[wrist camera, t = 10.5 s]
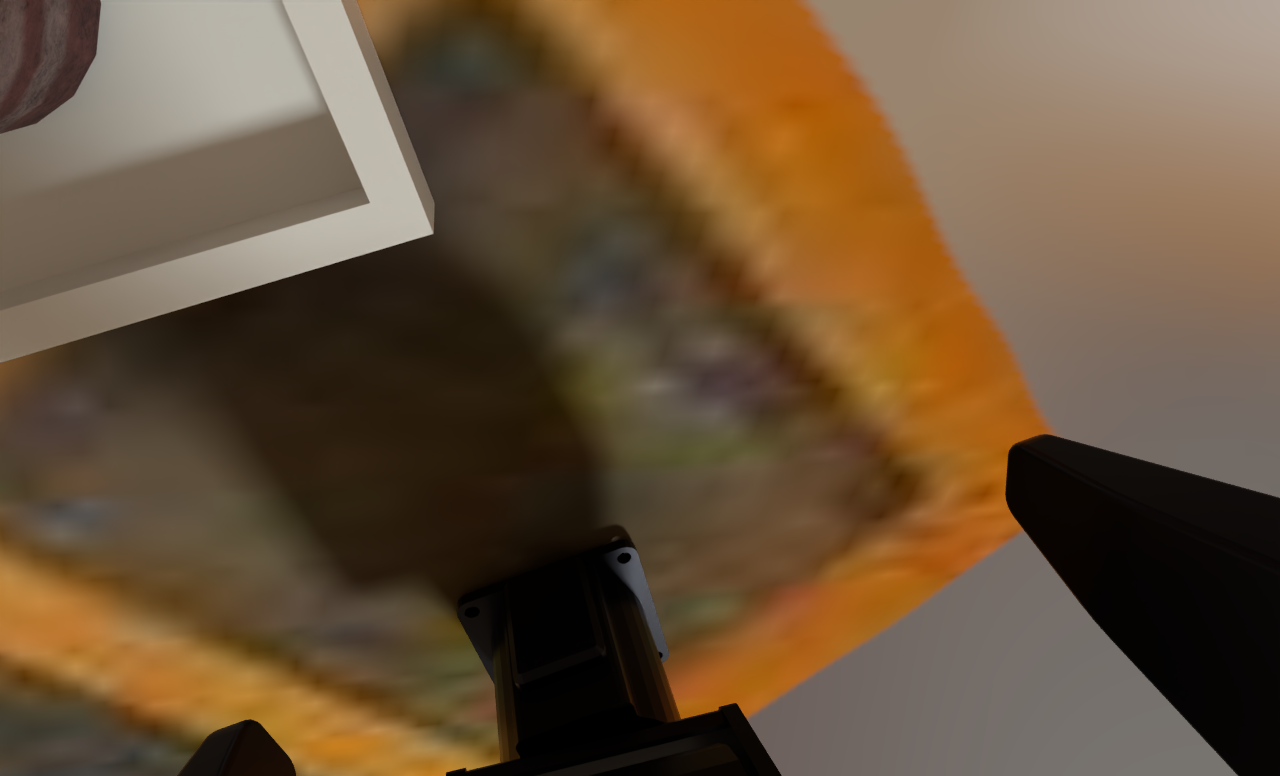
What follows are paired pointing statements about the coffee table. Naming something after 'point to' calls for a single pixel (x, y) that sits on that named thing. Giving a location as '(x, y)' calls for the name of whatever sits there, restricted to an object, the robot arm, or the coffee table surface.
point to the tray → (201, 166)
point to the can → (43, 56)
